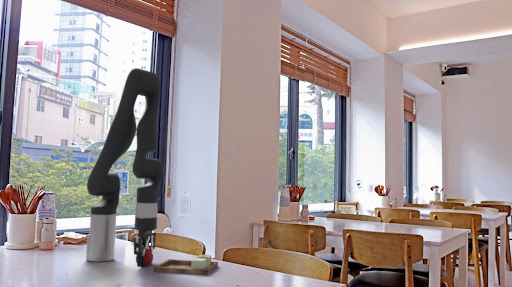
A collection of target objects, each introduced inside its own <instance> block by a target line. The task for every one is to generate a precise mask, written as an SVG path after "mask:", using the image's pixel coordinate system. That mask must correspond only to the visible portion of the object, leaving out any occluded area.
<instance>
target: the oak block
mask: <svg viewBox="0 0 512 287" xmlns="http://www.w3.org/2000/svg"><path fill="white" fill-rule="evenodd" d="M196 258H206V259H207V267H206V269H207V268H208V267H209V266H211V262H212V255H210V254H199V255H198V256H196Z"/></svg>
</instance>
